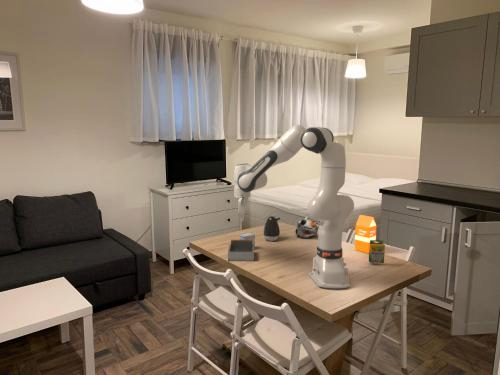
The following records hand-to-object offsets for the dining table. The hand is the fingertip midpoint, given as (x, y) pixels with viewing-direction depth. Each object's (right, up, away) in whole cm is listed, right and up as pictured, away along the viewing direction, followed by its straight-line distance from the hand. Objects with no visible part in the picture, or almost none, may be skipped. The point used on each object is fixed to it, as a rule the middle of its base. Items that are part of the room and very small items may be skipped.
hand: (242, 219), depth 205 cm
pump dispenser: (+18, -16, +33) cm, 41 cm away
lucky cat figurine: (+41, -15, +41) cm, 60 cm away
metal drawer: (-1, -21, +2) cm, 21 cm away
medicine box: (+2, -19, +15) cm, 24 cm away
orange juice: (+70, -19, +15) cm, 74 cm away
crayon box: (+70, -22, -6) cm, 74 cm away
